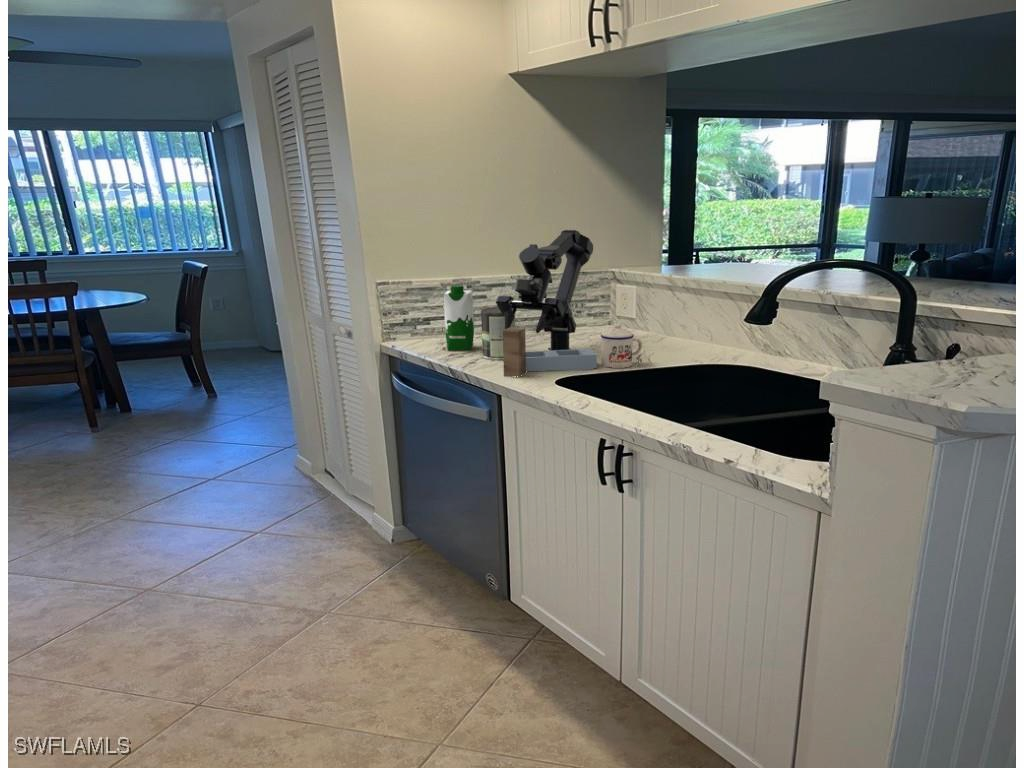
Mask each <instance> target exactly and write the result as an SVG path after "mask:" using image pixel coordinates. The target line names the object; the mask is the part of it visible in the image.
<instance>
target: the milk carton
mask: <svg viewBox="0 0 1024 768" xmlns="http://www.w3.org/2000/svg"><path fill="white" fill-rule="evenodd" d="M443 298H444V299H443V302H444V304H443V305H444V306H443V308H444V332H445V340H446V349H447V351H448V350H459V351H460V350H470V351H471V350H472V348H473V347H474V339H475V338H474V336H475V322H474V321H475V320H474V319H475V318H474V298H473V290H464V285H461V284H460V285H450V290H448V291H445V293H444V294H443ZM472 346H473V347H472ZM459 351H458V352H459Z"/></svg>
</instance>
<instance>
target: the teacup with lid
mask: <svg viewBox="0 0 1024 768" xmlns="http://www.w3.org/2000/svg"><path fill="white" fill-rule="evenodd" d="M600 337H601V366H602V367H604V366H606V367H605V368H608V367H612V368H611V369H625V367H627V368H629V366H630V367H631V365H632V366H633V357H634V356H636V355H639V353H641V351H642V349H643V343H642V340H641V339H639V338H637V337H635V335H634V333H633V332H632V331H630V330H627V329H626V328H624V327H622V324H620V323H615V324H613V327H611V328H609V329H608V330H605V331H602V332H601V334H600ZM634 342H638V347H637V350H636V351H635V352H634V351H633V350H634V349H633V347H634Z"/></svg>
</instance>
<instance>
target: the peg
mask: <svg viewBox="0 0 1024 768" xmlns="http://www.w3.org/2000/svg"><path fill="white" fill-rule="evenodd" d="M526 352H527V349H526V328H524V327H523V328H522V327H515V328H508V329H505V330H503V377H508V376H516V377H515V378H518V377H519V376H521V375H523V374H525V373H526V374H527V372H526ZM526 374H525V375H526ZM517 376H518V377H517ZM523 376H524V375H523ZM521 377H522V376H521ZM519 378H520V377H519Z"/></svg>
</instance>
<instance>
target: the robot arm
mask: <svg viewBox="0 0 1024 768" xmlns="http://www.w3.org/2000/svg"><path fill="white" fill-rule="evenodd" d="M593 252H594V245H593V242H592V241H591V239H590V238H589V237H588V236H585V235H583V234H582V233H580V231H579V230H576V229H564V230H561V232H560V235H558V236H557V237H556V238H555V239H554V240H553V241H552V242H551V243H550V244H548V245H547V246H542V247H538V245H537V244H533V243H530V244H529V246H528V247H526V248H524V249H522V251H520V252H519V256H518V257H519V260H520V262H521V264H522V267H523V269H524V271H525V272H526V274H527V275H529V277H528V278H527V279H524V278H522V279H521V278H517V279H516V281H515V287H514V292H517V293H518V299H520V300H514V298H513V296H512V295H498V296H497V298H496V301H495V304H496V306H497V307H498V308H499V309H500V311H501V313H502V314H504V316H505V329H508V328H510V326H511V324H512V322H513V320H514V317H515V318H516V312H517V310H518V309H520V310H529V311H541V315H540V316H539V320H538V322H537V325H536V327H535V332H536V334H540V332H541V331H543V330H544V331H543V332H544V333H545V332H546V333H547V332H549V333H550V347H548V348H547V351H551V350H572V349H571V348H570V334H573V333H574V334H575V333H576V329H577V324H576V323H577V322H576V321H575V319H574V316H573V310H572V307H571V302H572V298H573V295H574V292H575V289H576V286H577V283H578V280H579V279H578V278H579V276H580V272H581V270H582V267H583V266H585V264H587V263H588V262H589V260H590V258H591V256H592V254H593ZM563 256H565V259H566V262H565V266H564V269H563V273H562V276H561V279H560V282H559V285H558V288H557V292H556V295H555V297H548V295H547V289H548V286H549V284H552V283H553V278H552V272H551V271H550V270H553V271H555V270H556V271H557V270H558V268H559V267H560V266H561V264H562V263H563V262H562V260H563V258H562V257H563ZM543 301H544V302H543ZM514 314H515V315H514Z"/></svg>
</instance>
